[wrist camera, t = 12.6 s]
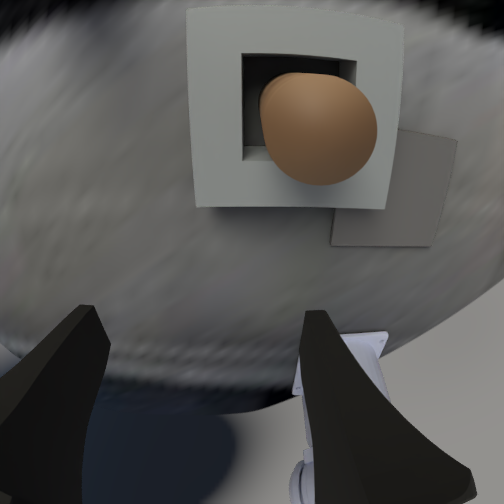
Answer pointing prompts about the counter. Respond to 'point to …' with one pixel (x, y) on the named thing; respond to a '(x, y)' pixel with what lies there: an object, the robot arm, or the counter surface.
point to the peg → (317, 127)
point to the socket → (232, 100)
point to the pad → (403, 197)
